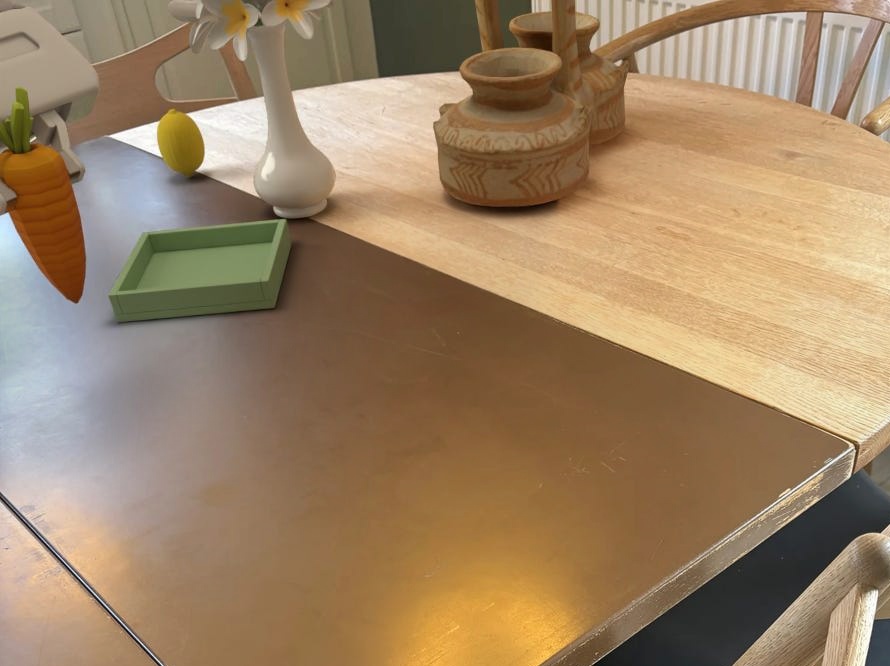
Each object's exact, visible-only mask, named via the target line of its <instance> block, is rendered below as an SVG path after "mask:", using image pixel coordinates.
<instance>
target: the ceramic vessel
mask: <svg viewBox="0 0 890 666" xmlns="http://www.w3.org/2000/svg"><path fill="white" fill-rule="evenodd" d="M550 2H551V10H549V11H548V10H547V11H536V12H535V11H534V12H530V13H529V12H528V13H525V14H521V15H518V16H516V17H514V18H512V19H511V20H510V21H509V25H508V29H509V31H510V32H511V33H512V35H513V36H514V37H515V39H516V40H517V43H518V47H505V42H504V36H503V30H502V23H501V18H500V17H501V16H500V9H499V1H498V0H474V4H475V10H476V11H475V12H476V17H477V23H478V30H479V38H480V43H481V44H480V45H481V52H478V53H475V54H473V55H471V56H470V57H467V58H466V59H465V60H463V62H462V63H461V65H460V66H459V74H460V76H461V79H462V80H463V81H465V83H467V85H468V86H469V87H470V89H471V90H472V94H471V95H468V96H467V97H465V98H463V99H461V100H459V101H457V102H456V103H453V102H449V103H443V104H442V105H441V106H439V108H438V112H439V116H440V118H439V119H437V120H435V121H433V123H432V129H433V133H434V138H435V143H436V146H437V165H438V174H439V181H440V183H441V186H442V188H443V189H444V191H445V192H446V193H447V194H449V195H450V196H451V197H452V198H454V199H455V200H458V201H461V202H464V203H467V204H470V205H476V206H485V207H497V208H498V207H528V206H536V205H541V204H546V203H549V202H553V201H557V200H560V199H563V198H566V197H567V196H568V195H570V194H572V193H574V192H576V191H577V190H579V189H580V188H581V187H582V186H583V185H585V183H586V182H587V179H588V177H589V174H590V148H591V147H594V146H597V145H598V146H599V145H600V144H603V143H605V142H608V141H610V140H611V139H613V138H615V137H617V136H618V135H619V134H620V133H621V132H622V131H623V129H624V127H625V125H626V105H625V86H626V81H627V77H628V74H629V70H630V62H629V60H623V61H622V62H621V63H620V65H617V64H616V63H615V62H614V61H611V60H610V59H607V58H605V57H603V56H600V55H598V54H596V53H595V52H592V50H591V43H592V39H593V37H594V35H595V34H596V33H598V31H599V29H600V27H601V21H600V18H597V17H595V16H593V15H591V14H587V13H583V12H579V11H576V0H551V1H550Z"/></svg>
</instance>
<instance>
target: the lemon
mask: <svg viewBox="0 0 890 666" xmlns="http://www.w3.org/2000/svg"><path fill="white" fill-rule="evenodd" d="M157 124H158V125H157V127H156V140H157V146H158V150H159V153H160V155H161V157H162V159H163V161H164V163H165V164H166V165H167V166H168V167H169V168H170V169H171V170H172V171H174V172H176V173H179V174H183V175H184V176H185V177H186V178H193V176H194V174H195V172H196V171H197V170H199V169H200V167H201V166H202V164H204V161H205V153H206V149H205V142H204V138H203V135H202V132H201V130H200V128H199V126H198V125H197V123H196V122H195V121H194V119H193V118H192V117H190V115H189V114H186V113H184V112H183V111H182V112H181V111H178V110H176V109H175V108H170V109H169V110H168V111H167V113H166V114H164V115H163V116H162V117H161V119H159V122H158V123H157Z"/></svg>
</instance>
